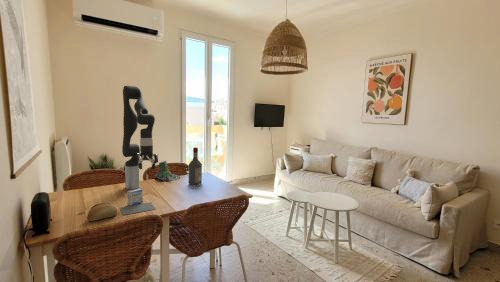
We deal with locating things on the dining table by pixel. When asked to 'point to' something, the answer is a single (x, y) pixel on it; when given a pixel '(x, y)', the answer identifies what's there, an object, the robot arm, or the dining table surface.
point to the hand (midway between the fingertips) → (147, 169)
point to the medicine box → (134, 197)
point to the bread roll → (101, 211)
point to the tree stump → (165, 173)
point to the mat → (137, 208)
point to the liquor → (195, 169)
